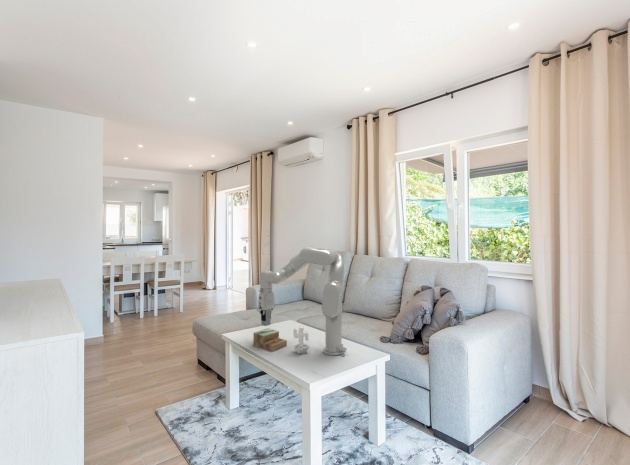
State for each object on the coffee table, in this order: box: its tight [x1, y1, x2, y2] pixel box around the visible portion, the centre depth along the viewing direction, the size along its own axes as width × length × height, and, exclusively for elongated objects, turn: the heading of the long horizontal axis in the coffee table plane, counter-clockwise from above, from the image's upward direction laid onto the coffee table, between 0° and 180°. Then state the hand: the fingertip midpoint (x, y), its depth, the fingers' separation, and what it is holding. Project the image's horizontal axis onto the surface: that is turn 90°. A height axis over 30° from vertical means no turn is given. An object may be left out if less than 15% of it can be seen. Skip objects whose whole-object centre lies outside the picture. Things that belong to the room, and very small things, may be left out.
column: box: [260, 309, 272, 327], centre depth 208 cm, size 4×4×12 cm
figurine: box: [292, 325, 310, 355], centre depth 195 cm, size 7×9×15 cm
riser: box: [253, 327, 288, 352], centre depth 206 cm, size 17×12×8 cm
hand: (266, 319), depth 208 cm, fingers closed on column, 4 cm apart
